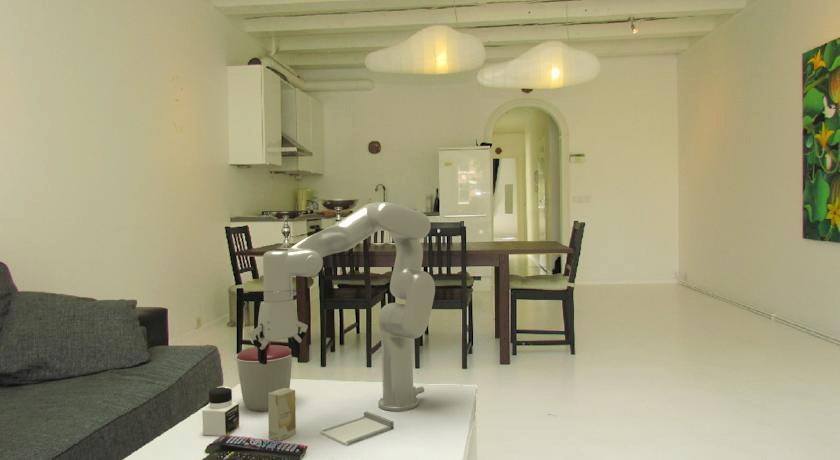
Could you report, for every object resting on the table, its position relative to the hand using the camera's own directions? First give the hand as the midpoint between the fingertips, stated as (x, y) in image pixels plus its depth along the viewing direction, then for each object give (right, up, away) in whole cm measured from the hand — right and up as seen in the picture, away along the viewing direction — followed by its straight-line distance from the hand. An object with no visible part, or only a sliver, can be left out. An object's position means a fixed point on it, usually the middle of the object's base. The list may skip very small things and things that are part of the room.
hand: (279, 360), depth 150 cm
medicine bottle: (-18, -21, +5) cm, 28 cm away
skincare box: (+1, -21, +1) cm, 21 cm away
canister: (-11, -21, +26) cm, 35 cm away
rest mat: (+21, -20, +3) cm, 29 cm away
